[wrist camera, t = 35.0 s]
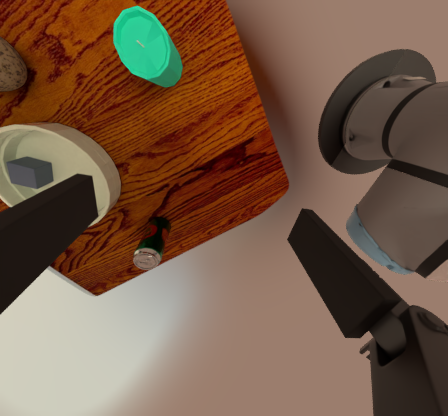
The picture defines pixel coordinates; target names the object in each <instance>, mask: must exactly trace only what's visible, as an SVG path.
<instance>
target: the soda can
mask: <svg viewBox="0 0 448 416" xmlns="http://www.w3.org/2000/svg"><path fill="white" fill-rule="evenodd" d="M170 229H171V224H170V222H169V221H168V220H166V219H165V218H162V217H156V218H153V219H152V220H151V221H150V223H149V225H148V227H147V229H146V231H145V232H144V234H143V236H142V238H141V240H140V242H139V244H138V246H137V248H136V250H135V252H134V255H133V257H134V260H133V261H134V264H135V265H136V266H137V267H138V268H140V269H144V270H150V269H153V268H155V267H156V266H157V265H158V264H159V263H160V261H161V258H162V255H163V252H164V249H165V246H166V242H167V239H168V236H169V233H170Z"/></svg>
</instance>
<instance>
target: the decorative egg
mask: <svg viewBox="0 0 448 416" xmlns="http://www.w3.org/2000/svg"><path fill="white" fill-rule="evenodd" d="M26 80H27V68H26V65H25V63H24V61H23V59H22V58H21V56H20V55H19V54H18V52H17V51H16V50H15V49H14V48H13V47H12V46H11V45H10V44H9V43H8V42H7V41H5V40H4V39H3V38H1V37H0V91H12V90H15V89H18V88H20V87H21V86H23V85H24V83H25V82H26Z"/></svg>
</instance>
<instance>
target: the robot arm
mask: <svg viewBox="0 0 448 416" xmlns="http://www.w3.org/2000/svg"><path fill="white" fill-rule="evenodd" d="M422 79H426V78H423V77H412V76H408V75H394V76H388V77H384V78H381V79H378V80H376V81H374V82H372V83H371V84H369V85H367V86H366V87H365V88H364V89H362V90H361V91H360V92H359V93H358V94H357V95H356V96H355V98H354V99H353V100H352V101H351V103H350V104H349V106H348V107H347V109H346V111H345V113H344V115H343V118H342V121H341V125H340V131H339V137H340V143H341V146H342V148H343V149H344V151H345V152H346V153H347V154H349V155H350V156H352V157H355V158H358V159H362V160H380V159H392V160H391V161H390V162H389V164H388V165H387V167H385V169H384V170H383V172H382V173H381V174H380V176H379V177H378V178H377V180H376V181H375V183H374V184H373V185H372V187H371V188H370V189H369V191H368V192H367V193H366V195H365V196H364V197H363V198H362V200H361V201H360V202H359V204H357V205H356V206H355V208H354V211H353V212H352V214H351V216H350V217H349V219H348V220H347V223H346V229H347V231H348V234H349V236H350V237H351V239H352V240H353V242H354V243H355V244H356V245H357V246H358V247H359V248H360V249H361V250H362V251H363V252H364V253H365V254H367V255H368V256H369V257H370V258H372V259H373V260H375V261H376V262H377V263H379V264H380V265H382V266H386V267H387V268H388V269H389V270H391V271H394V272H396V273H399V274H404V275H405V274H410V273H414V272H416V273H418V274H420V275H421V276H423V277H424V278H426V279H427V280H431V281H445V282H448V82H439V83H431V82H428V81H425V80H422ZM393 169H394V170H393ZM396 170H397V171H396ZM399 171H400V172H399ZM402 172H403V173H402ZM405 173H406V174H405ZM408 174H409V175H408ZM416 177H417V178H416ZM419 178H420V179H419ZM422 179H423V180H422ZM425 180H426V181H425ZM428 181H429V182H428ZM431 182H432V183H431ZM434 183H435V184H434ZM437 184H438V185H437ZM98 217H99V216H98V209H97V203H96V196H95V190H94V183H93V177H92V176H91V175H85V174H78V173H77V174H75V175H73V176H71V177H69V178H67V179H65V180H63V181H61V182H59V183H57V184H55V185H53V186H52V187H50V188H48V189H46V190H44V191H42V192H40V193H38V194H36V195H34V196H32V197H30V198H28V199H26V200H24V201H22V202H20V203H18V204H16V205H14V206H12V207H10V208H8V209H6V210H4V211H2V212H0V314H1V313H2V312H3V311H4V310H5V309H6V308H7V307H8V306H9V305H10V304H11V303H12V302H13V301H14V300H15V299H16V298H17V297H18V296H19V295H20V294H21V293H22V292H23V291H24V290H25V289H26V288H27V287H28V286H29V285H30V284H31V283H32V282H33V281H34V280H35V279H36V278H37V277H38V276H39V275H40V274H41V273H42V272H43V271H44V270H45V269H46V268H47V267H48V266H49V265H50V264H51V263H52V262H53V261H54V260H55V259H56V258H57V257H58V256H59V255H60V254H61V253H62V252H63V251H64V250H65V249H66V248H67V247H68V246H69V245H70V244H72V243H73V242H74V241H75V240H76V239H77V238H78V237H79V236H80V235H81V234H82V233H83V232H84V231H85V230H86V229H87V228H88V227H89V226H90V225H91V224H92V223H93V222H94V221H95V220H96V219H97V218H98ZM287 240H288V241H289V243H290V245H291V246H292V248H293V250H294V252H295V253H296V255H297V257H298V259H299V260H300V262H301V264H302V265H303V267H304V269H305V270H306V272H307V274H308V276H309V277H310V279H311V281H312V282H313V284H314V286H315V287H316V289H317V290H318V292H319V294H320V296H321V297H322V299H323V301H324V303H325V304H326V306H327V308H328V309H329V311H330V313H331V315H332V316H333V318H334V319H335V321H336V323H337V324H338V326H339V328H340V330H341V331H342V333H343V335H344V337H345V338H361V337H362V336H363V335H364V334H365V333H366V332H368V331H370V333H371V334H372V336H373V338H372V339H371V340H370V341H369V342H368V343H366V344H365V345H364V346H363V347H362V348H361V349H360V353H361V354H363V353H365V352H366V351H367V350H368V351H370V354H369V355H368V356H367V357H366V358H368V359H369V360H370V361H371V362H370V364H371V380H372V395H373V396H372V397H373V414H374V416H448V325H446V324H445V323H444V322H443V321H442V320H441V319H439V318H438V317H437V316H436V315H434V314H433V313H431V312H429V311H428V310H426V309H424V308H421V307H419V306H415V305H412V306H409V305H408V304H407V303H406V302H405V301H404V300H403V299H402V298H401V297H400V296H399V295H398V294H397V293H396V292H395V291H394V290H393V289H392V288H391V287H390V286H389V285H388V284H387V283H386V282H385V281H384V280H383V279H382V278H380V277H379V275H378V274H377V273H376V272H375V271H373V270H372V268H371V267H370V266H369V265H368V264H367V263H366V262H365V261H364V260H362V259H361V258H360V257H358V255H356V253H355V252H354V251H353V250H351V248H350V247H349V246H347V244H346V243H345V242H344V241H343V240H341V238H339V236H337V234H336V233H335V232H334V231H333V230H331V228H330V227H329V226H328V225H327V224H326V223H325V222H324V221H323V220H322V219H321V218H319V216H318V215H317V214H316V213H315V212H314V211H313V210H309V209H302V210H301V212H300V214H299V216H298V218H297V220H296V222H295V224H294V226H293V228H292V231H291V233H290V235H289V237H288V239H287Z"/></svg>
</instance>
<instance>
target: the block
mask: <svg viewBox="0 0 448 416" xmlns="http://www.w3.org/2000/svg"><path fill="white" fill-rule="evenodd" d="M6 164H7V168H8V173H9V177H10V181H11V183H12V184H17V185H21V186H25V187H30V188H34V189H39V188H41V187H43V186H45V185H47V184H49V183H51V182H53V181H54V180H53V171H52V163H51V162H47V161H43V160H39V159H35V158H32V157H28V156H26V157H22V158H19V159H15V160H11V161H8V162H6Z"/></svg>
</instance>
